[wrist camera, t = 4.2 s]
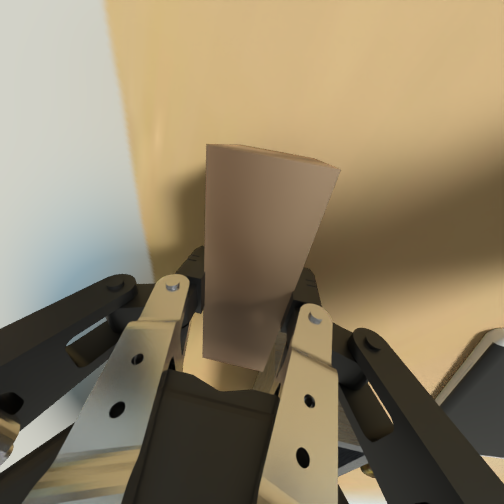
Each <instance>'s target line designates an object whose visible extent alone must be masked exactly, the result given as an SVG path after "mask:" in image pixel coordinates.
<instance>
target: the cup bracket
mask: <svg viewBox="0 0 504 504" xmlns="http://www.w3.org/2000/svg"><path fill="white" fill-rule="evenodd" d="M280 331H281V327H280V329H279V332H278V334H277V337H276V340H275V342H274V345H273V347H272V350H271V353H270V355H269V358H268V360H267V363H266V365H265V368H264V371H263V372H261V371H259V373H258V376H257V379H256V381H255V384H254V387H253V390H257V391H261V392H265V393H269V394H270V391H271V388H272V385H273V382H274V379H275V376H276V372H277V369H278V365H279V362H280V358H281V355H282V351H283V348H284V345H285V342H286V340H287V334H286V333H282V332H280ZM367 463H368V461H367V459H366V457H365V455H364V453H363V450H362V448H361V446H360V444H359V442H358V440H357V438H356V435H355V433H354V431H353V429H352V427H351V425H350V423H349V421H348V418H347V416H346V414H345V412H344V410H343V408H342V406H341V404H340V401H339V399H338V477H339V476H341V475H343V474H345V473H347V472H350V471H352V470H354V469H356V468H359V467H361V466H363V465H365V464H367Z"/></svg>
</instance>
